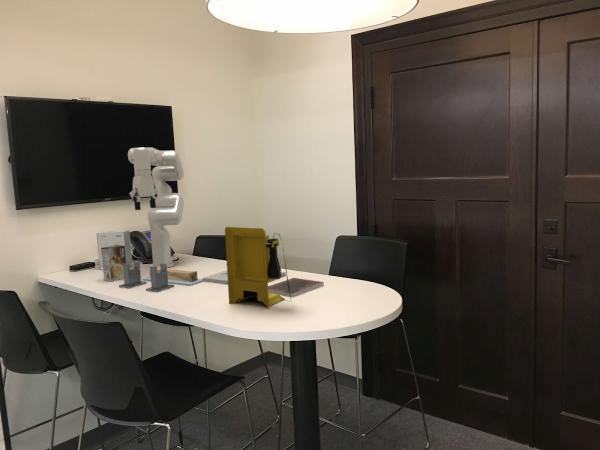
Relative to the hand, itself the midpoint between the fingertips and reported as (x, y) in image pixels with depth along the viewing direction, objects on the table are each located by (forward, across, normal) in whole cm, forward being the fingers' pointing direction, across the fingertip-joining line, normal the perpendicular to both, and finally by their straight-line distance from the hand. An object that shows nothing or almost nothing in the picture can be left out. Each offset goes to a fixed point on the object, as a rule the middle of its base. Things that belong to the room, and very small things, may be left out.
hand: (145, 208), depth 243 cm
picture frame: (+34, -5, +79) cm, 86 cm away
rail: (+32, +3, +18) cm, 37 cm away
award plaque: (+34, -13, +48) cm, 60 cm away
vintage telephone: (+34, +18, +78) cm, 87 cm away
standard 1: (+33, +17, +6) cm, 38 cm away
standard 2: (+33, +17, +24) cm, 44 cm away
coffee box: (+34, +11, -12) cm, 37 cm away
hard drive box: (+34, -8, -34) cm, 48 cm away
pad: (+33, +3, +18) cm, 38 cm away
